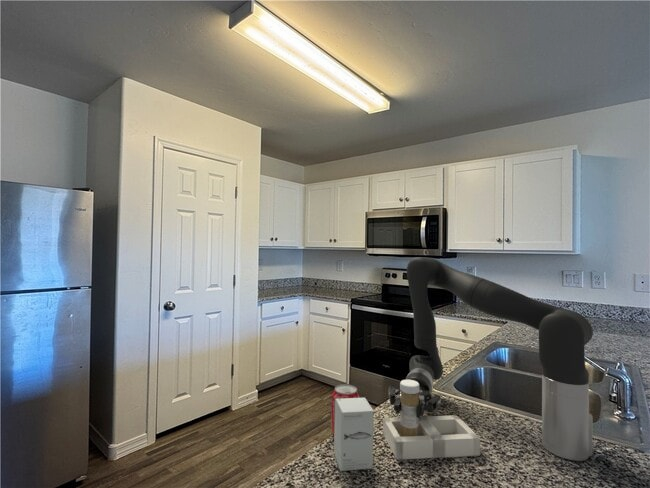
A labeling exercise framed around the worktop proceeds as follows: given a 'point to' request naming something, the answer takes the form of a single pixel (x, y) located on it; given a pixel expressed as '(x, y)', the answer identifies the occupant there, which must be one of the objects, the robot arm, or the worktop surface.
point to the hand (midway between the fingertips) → (407, 411)
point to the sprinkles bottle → (409, 408)
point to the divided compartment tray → (432, 438)
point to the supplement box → (353, 434)
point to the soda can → (341, 393)
